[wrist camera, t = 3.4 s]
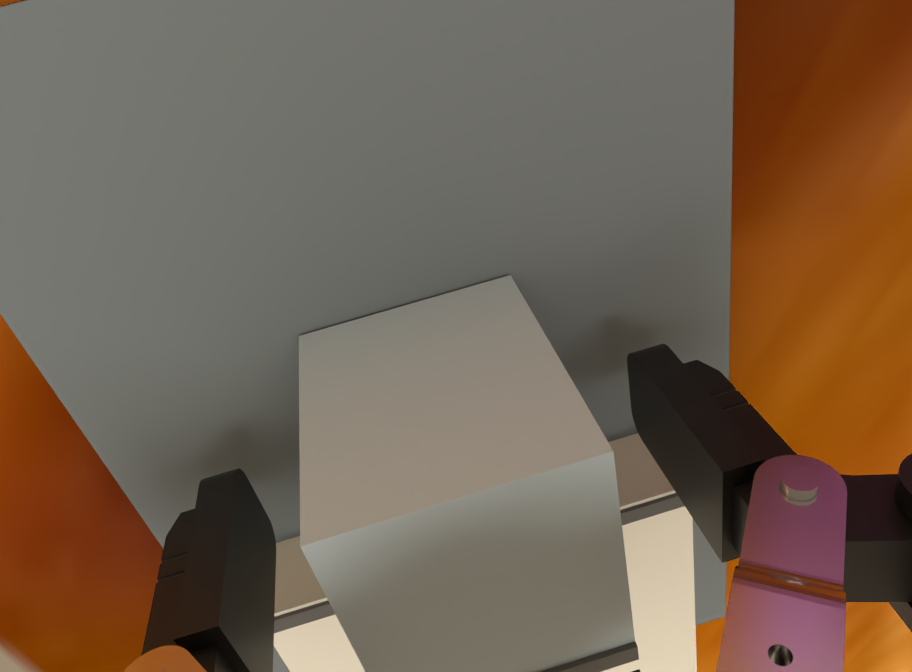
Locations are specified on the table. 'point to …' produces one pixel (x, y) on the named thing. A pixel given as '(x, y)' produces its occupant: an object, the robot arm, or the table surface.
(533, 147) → the pad
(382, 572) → the stub
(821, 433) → the table surface
